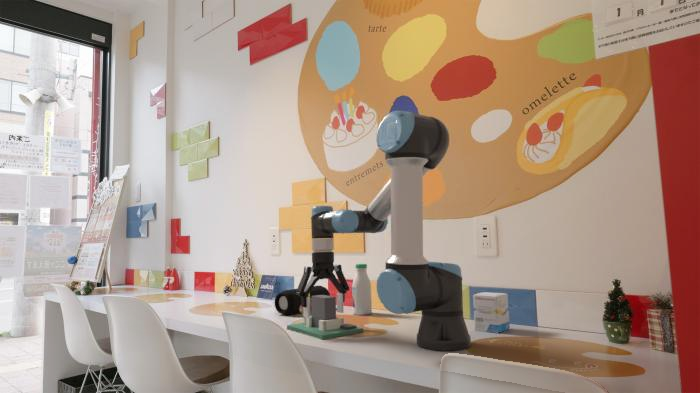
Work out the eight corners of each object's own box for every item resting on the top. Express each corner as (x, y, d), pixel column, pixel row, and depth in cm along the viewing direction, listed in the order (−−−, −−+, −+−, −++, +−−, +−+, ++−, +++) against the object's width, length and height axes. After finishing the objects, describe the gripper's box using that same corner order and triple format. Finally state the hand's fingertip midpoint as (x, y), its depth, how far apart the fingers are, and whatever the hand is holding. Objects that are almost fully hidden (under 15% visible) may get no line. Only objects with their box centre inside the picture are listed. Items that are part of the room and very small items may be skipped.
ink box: (510, 329, 147) (508, 293, 148) (498, 333, 140) (497, 295, 141) (485, 326, 152) (484, 291, 153) (473, 330, 146) (472, 294, 147)
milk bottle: (375, 312, 184) (373, 263, 186) (365, 315, 177) (364, 264, 179) (359, 311, 188) (358, 263, 190) (349, 314, 181) (348, 264, 183)
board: (363, 331, 147) (362, 318, 148) (322, 339, 138) (322, 325, 138) (325, 322, 165) (325, 311, 165) (287, 328, 155) (286, 316, 155)
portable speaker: (289, 317, 179) (289, 291, 180) (273, 314, 185) (272, 290, 186) (331, 308, 199) (331, 285, 200) (315, 306, 205) (315, 284, 206)
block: (336, 327, 149) (335, 296, 150) (325, 329, 147) (324, 298, 148) (321, 323, 157) (320, 294, 157) (310, 325, 154) (310, 295, 155)
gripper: (345, 249, 164) (346, 309, 162) (285, 252, 149) (285, 317, 147) (358, 250, 158) (359, 311, 156) (296, 252, 143) (297, 320, 141)
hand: (323, 314), depth 152 cm, fingers open, 13 cm apart
